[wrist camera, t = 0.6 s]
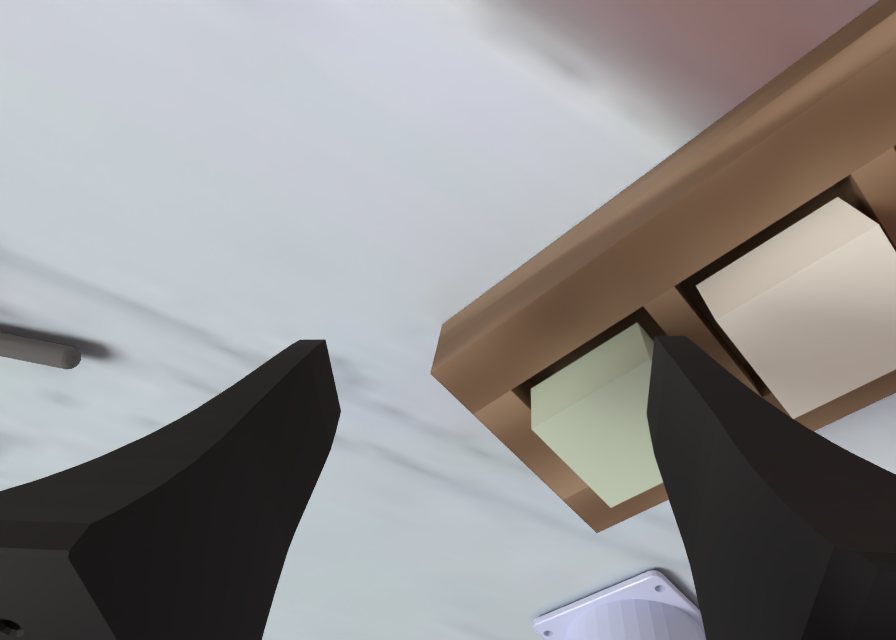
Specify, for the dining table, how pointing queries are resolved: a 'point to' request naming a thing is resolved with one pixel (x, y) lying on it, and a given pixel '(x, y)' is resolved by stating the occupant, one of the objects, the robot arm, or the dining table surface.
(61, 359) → the walkie-talkie
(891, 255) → the key cream
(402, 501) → the dining table surface
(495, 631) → the dining table surface
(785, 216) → the wooden tray
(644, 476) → the key sage
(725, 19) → the dining table surface
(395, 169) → the dining table surface
